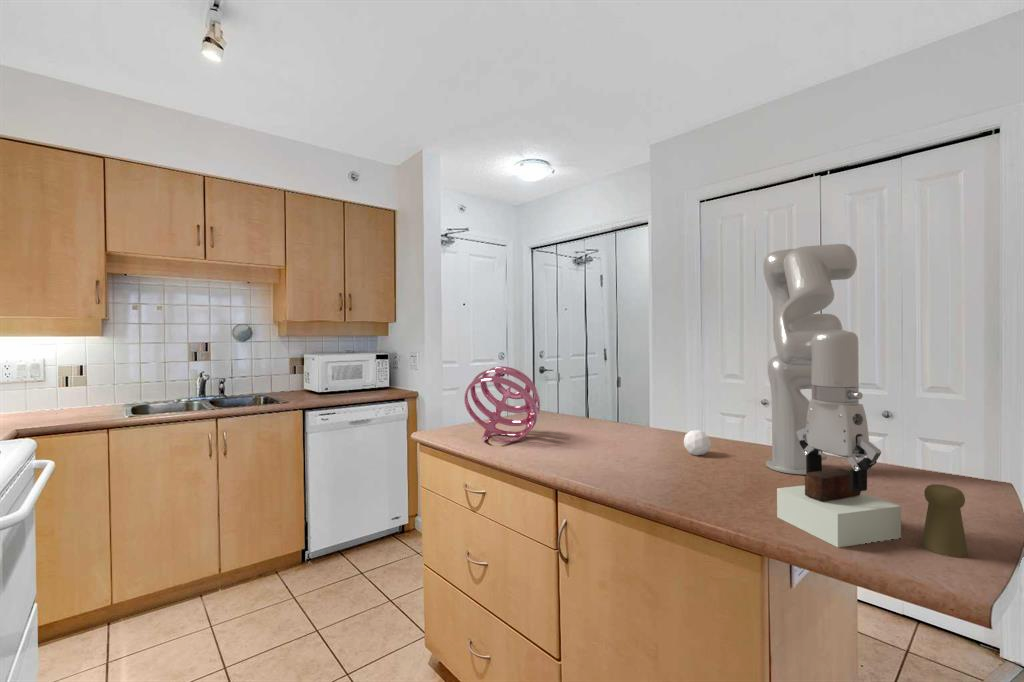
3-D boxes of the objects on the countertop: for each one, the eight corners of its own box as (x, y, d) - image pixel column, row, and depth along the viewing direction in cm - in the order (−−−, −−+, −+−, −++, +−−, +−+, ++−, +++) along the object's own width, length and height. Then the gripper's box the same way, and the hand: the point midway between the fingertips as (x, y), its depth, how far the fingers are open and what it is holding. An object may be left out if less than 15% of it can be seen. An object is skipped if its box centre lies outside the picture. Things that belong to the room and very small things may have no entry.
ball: (702, 462, 146) (717, 441, 146) (697, 459, 139) (713, 437, 139) (681, 447, 150) (696, 427, 150) (676, 443, 144) (691, 422, 144)
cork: (911, 542, 84) (911, 481, 84) (942, 540, 85) (942, 480, 84) (945, 558, 78) (945, 493, 78) (978, 556, 78) (978, 491, 78)
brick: (823, 503, 88) (823, 478, 87) (804, 496, 91) (804, 472, 91) (863, 496, 91) (863, 472, 91) (843, 489, 95) (843, 466, 95)
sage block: (833, 510, 99) (833, 482, 99) (901, 538, 86) (900, 506, 85) (777, 517, 96) (776, 488, 96) (837, 547, 83) (837, 514, 82)
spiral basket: (500, 395, 147) (525, 344, 167) (436, 409, 162) (466, 361, 182) (541, 455, 158) (561, 400, 178) (478, 463, 173) (502, 412, 193)
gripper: (895, 400, 83) (895, 495, 83) (813, 388, 100) (813, 468, 100) (860, 402, 81) (861, 499, 81) (783, 390, 98) (784, 471, 98)
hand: (835, 482), depth 91 cm, fingers open, 9 cm apart
